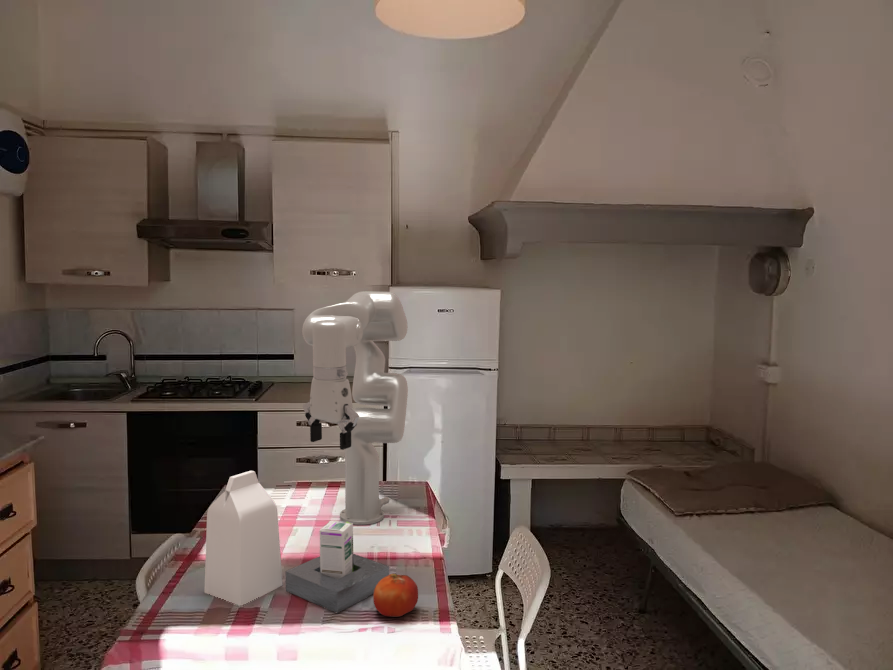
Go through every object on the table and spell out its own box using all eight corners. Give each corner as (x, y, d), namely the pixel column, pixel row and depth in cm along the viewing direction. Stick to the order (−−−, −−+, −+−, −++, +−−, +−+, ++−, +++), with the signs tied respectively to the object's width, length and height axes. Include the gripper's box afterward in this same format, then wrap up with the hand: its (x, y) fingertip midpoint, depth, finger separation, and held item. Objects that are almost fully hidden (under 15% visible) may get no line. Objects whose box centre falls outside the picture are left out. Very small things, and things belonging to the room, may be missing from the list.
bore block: (338, 566, 164) (338, 548, 164) (388, 585, 155) (388, 566, 154) (285, 590, 152) (285, 571, 151) (337, 613, 142) (337, 592, 142)
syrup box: (344, 595, 150) (344, 531, 149) (319, 592, 151) (319, 528, 150) (354, 584, 155) (354, 521, 154) (329, 580, 157) (329, 519, 155)
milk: (240, 607, 144) (239, 486, 142) (204, 592, 150) (202, 476, 148) (282, 585, 154) (281, 472, 152) (247, 572, 161) (245, 463, 158)
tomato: (369, 622, 139) (370, 584, 138) (376, 600, 148) (376, 564, 147) (415, 624, 138) (416, 586, 138) (419, 602, 148) (420, 566, 147)
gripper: (368, 375, 158) (368, 447, 161) (315, 366, 168) (316, 434, 171) (345, 380, 152) (346, 455, 155) (292, 371, 162) (293, 441, 165)
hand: (330, 444), depth 163 cm, fingers open, 9 cm apart
